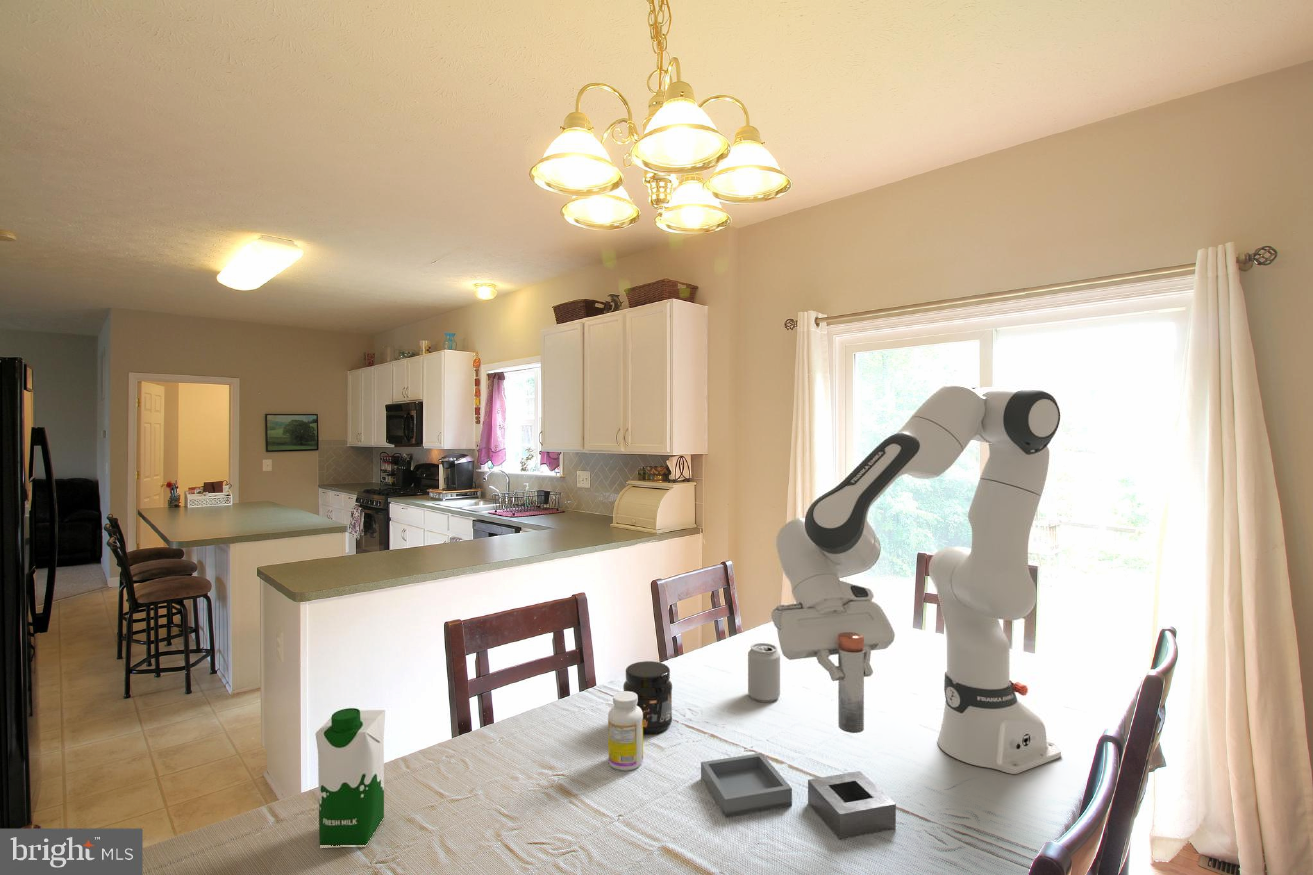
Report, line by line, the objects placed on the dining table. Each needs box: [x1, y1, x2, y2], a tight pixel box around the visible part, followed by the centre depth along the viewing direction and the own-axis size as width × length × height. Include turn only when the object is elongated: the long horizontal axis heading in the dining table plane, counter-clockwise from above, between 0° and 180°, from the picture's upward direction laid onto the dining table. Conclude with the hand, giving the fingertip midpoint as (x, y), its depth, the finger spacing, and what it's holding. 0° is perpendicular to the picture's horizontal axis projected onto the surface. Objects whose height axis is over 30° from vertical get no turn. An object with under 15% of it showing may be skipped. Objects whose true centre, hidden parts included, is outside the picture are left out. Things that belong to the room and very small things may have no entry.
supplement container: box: [622, 660, 673, 735], centre depth 136 cm, size 10×10×12 cm
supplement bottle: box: [607, 690, 644, 772], centre depth 121 cm, size 7×7×13 cm
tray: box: [700, 752, 793, 818], centre depth 111 cm, size 12×12×3 cm
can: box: [747, 642, 781, 703], centre depth 150 cm, size 8×8×12 cm
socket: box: [807, 770, 897, 841], centre depth 104 cm, size 10×10×4 cm
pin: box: [837, 632, 865, 734], centre depth 104 cm, size 4×4×15 cm
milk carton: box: [314, 707, 386, 846], centre depth 100 cm, size 9×9×20 cm
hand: (853, 677), depth 103 cm, fingers closed on pin, 4 cm apart
